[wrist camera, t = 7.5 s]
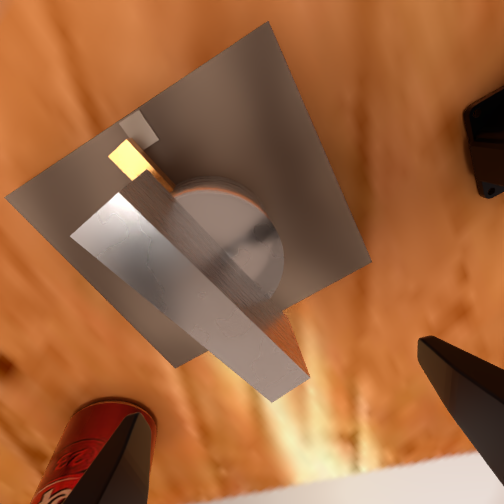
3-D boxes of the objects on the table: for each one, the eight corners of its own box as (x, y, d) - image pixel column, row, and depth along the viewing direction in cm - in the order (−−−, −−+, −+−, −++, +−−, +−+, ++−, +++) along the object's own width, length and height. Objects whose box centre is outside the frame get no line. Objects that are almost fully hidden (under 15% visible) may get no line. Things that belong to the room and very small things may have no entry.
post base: (263, 29, 15) (268, 19, 14) (362, 252, 22) (373, 263, 20) (20, 190, 17) (1, 198, 15) (177, 353, 23) (175, 370, 22)
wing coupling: (305, 257, 19) (361, 344, 12) (221, 318, 20) (226, 431, 13) (176, 97, 14) (142, 80, 7) (78, 189, 16) (-36, 252, 8)
